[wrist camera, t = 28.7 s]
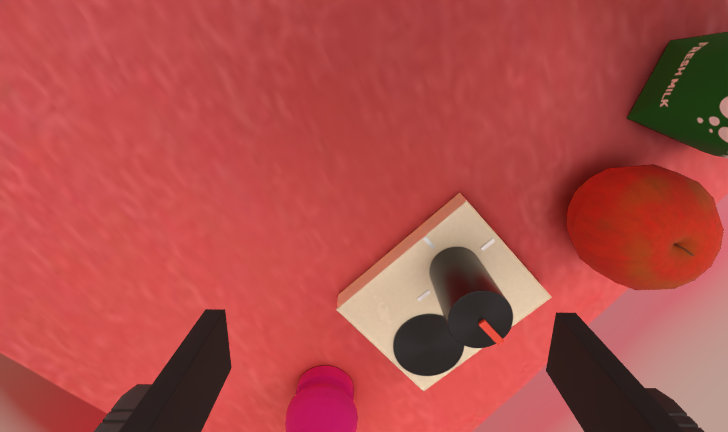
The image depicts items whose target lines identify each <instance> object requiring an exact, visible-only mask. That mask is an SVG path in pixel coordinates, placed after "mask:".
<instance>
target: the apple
mask: <svg viewBox="0 0 728 432" xmlns="http://www.w3.org/2000/svg"><path fill="white" fill-rule="evenodd" d="M566 227H567V230H568V233H569V236H570V239H571V242H572V244H573V246H574V248H575V249H576V251H577V253H578V255H579V257H580V259H581V260H583V261H584V262H585V263H586V264H588V265H589V266H590V267H591V268H593V269H594V270H595V271H597V272H598V273H600V274H602V275H604V276H605V277H607V278H609V279H611V280H612V281H614V282H616V283H618V284H621V285H624V286H626V287H629V288H632V289H634V290H659V289H673V288H677V287H679V286H682V285H684V284H686V283H689V282H691V281H694V280H695V279H696V278H698V277H699V276H700V275H701V274H702V273H704V272H705V271H706V270H707V269H708V268H710V267H711V265H712V264H713V262H714V260H715V258H716V256H717V254H718V252H719V251H720V249H721V243H722V237H723V231H724V229H723V227H722V224H721V221H720V218H719V215H718V212H717V208H716V205H715V202H714V199H713V197H712V196H711V195H710V194H709V193H708V192H707V191H706V190H705V189H704V188H703V186H702V185H701V184H700V183H699V182H697V181H694V180H692V179H690V178H688V177H685V176H683V175H681V174H679V173H676V172H674V171H671V170H668V169H665V168H662V167H659V166H657V165H654V164H652V165H642V166H632V167H618V168H608V169H606V170H604V171H602V172H600V173H598V174H596V175H594V176H592V177H591V178H589V179H588V180H587V181H586V182H585V183H584V184H583V185H582V186H581V187H579V188H578V189H577V190H576V191H575V193H574V196H573V198H572V200H571V202H570V205H569V207H568V212H567V223H566Z"/></svg>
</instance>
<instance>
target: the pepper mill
mask: <svg viewBox="0 0 728 432" xmlns="http://www.w3.org/2000/svg"><path fill="white" fill-rule="evenodd" d="M353 396H354V387H353V383H352V381H351V379H350V378H349V376H348V375H347V374H346V373H345V372H343V371H342V370H340V369H338V368H336V367H332V366H318V367H314V368H312V369H310V370H308V371H307V372H305V373H304V374H303V375H302V377H301V378H300V380H299V382H298V386H297V391H296V396H295V397H294V398H293V399H292V400H291V402H290V404H289V406H288V409H287V414H286V423H285V425H286V432H356V428H357V419H358V416H357V409H356V407H355V404H354V402H353Z"/></svg>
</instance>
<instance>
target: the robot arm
mask: <svg viewBox="0 0 728 432" xmlns="http://www.w3.org/2000/svg"><path fill="white" fill-rule="evenodd" d="M230 370H231V359H230V350H229V341H228V332H227V323H226V314H225V310H205V311H204V313H203V314H202V315H201V317H200V318H199V320H198V321H197V322H196V324H195V325H194V327H193V328H192V329H191V331H190V332H189V334H188V335H187V336H186V338H185V339H184V341H183V342H182V343H181V345H180V346H179V348H178V349H177V350H176V352H175V353H174V355H173V356H172V357H171V359H170V360H169V362H168V363H167V364H166V366H165V367H164V369H163V370H162V371H161V373H160V374H159V376H158V377H157V378H156V380H155V381H154V383H153V384H152V385H147V384H137V385H136V386H135V387H133V388H132V389H131V390H129V391H128V392H127V393H125V394H124V395H123V396H122V397H121V398H120V399H119V400H118V402H117V403H116V404H115V405H114V407H113V408H112V409H111V412H109V413H108V414H107V416H106V417H105V418H104V419H103V422H102V423H100V425H99V426H98V427H97V428H96V430H95V431H94V432H201V431H202V429H203V427H204V424H205V422H206V420H207V418H208V416H209V414H210V412H211V410H212V408H213V406H214V403H215V401H216V399H217V397H218V395H219V393H220V391H221V389H222V387H223V385H224V382H225V380H226V378H227V376H228V374H229V372H230ZM546 372H547V373H548V375H549V376H550V378H551V379H552V381H553V383H554V384H555V386H556V387H557V389H558V390H559V392H560V394H561V395H562V397H563V399H564V400H565V402H566V403H567V405H568V406H569V408H570V410H571V411H572V413H573V414H574V416H575V418H576V419H577V421H578V422H579V424H580V425H581V427H582V428H583V430H584V432H704V431H703V430H702V429H701V428H698V425H697V424H696V423H695V422H694V421H693V420H692V419H691V418H690V417H689V416H687V414H686V412H684V410H682V408H681V407H680V406H679V405H678V404H677V403H676V402H675V401H674V400H673V399H671V398H669V397H668V396H666V395H665V394H663V393H662V392H660V391H659V390H657V389H656V388H644V387H643V386H642V385H641V384H640V383H639V381H638V380H637V379H636V378H635V377H634V376H633V375H632V374H631V373H630V372H629V370H628V369H627V368H626V367H625V366H624V365H623V364H622V363H621V362H620V361H619V360H618V359H617V357H616V356H615V355H614V354H613V353H612V352H611V351H610V350H609V349H608V348H607V347H606V346H605V344H603V342H602V341H601V340H600V339H599V338H598V337H597V336H596V335H595V334H594V332H593V331H592V330H591V329H590V328H589V327H588V326H587V325H586V324H585V323H584V322H583V321H582V319H581V318H580V317H579V316H578V315H577V314H576V313H556V317H555V322H554V328H553V334H552V340H551V345H550V351H549V357H548V363H547V368H546Z"/></svg>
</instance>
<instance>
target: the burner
mask: <svg viewBox="0 0 728 432" xmlns="http://www.w3.org/2000/svg"><path fill="white" fill-rule="evenodd" d="M393 351H394V355H395V358H396V360H397V362H398V363H399V364H400V365H401V366H402V367H403V368H404V369H405V370H407V371H408V372H410V373H412V374H415V375H419V376H435V375H439V374H442V373H444V372H446V371H448V370H450V369H451V368H452V367H454V366H455V365H456V364H457V363H458V361H459V360H460V358H461V356H462V354H463V351H464V345H462V344H460V343H459V342H457V341H456V340H455V339H454V338H453V337H452V335H451V334H450V332H449V330H448V327H447V324H446V321H445V318H444V316H442V315H438V314H422V315H418V316H415V317H413V318H411V319H409V320H408V321H406V322H405V323H404V324H403V325H401V327H400V328H399V329H398V331H397V332H396V334H395V337H394V340H393Z"/></svg>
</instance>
